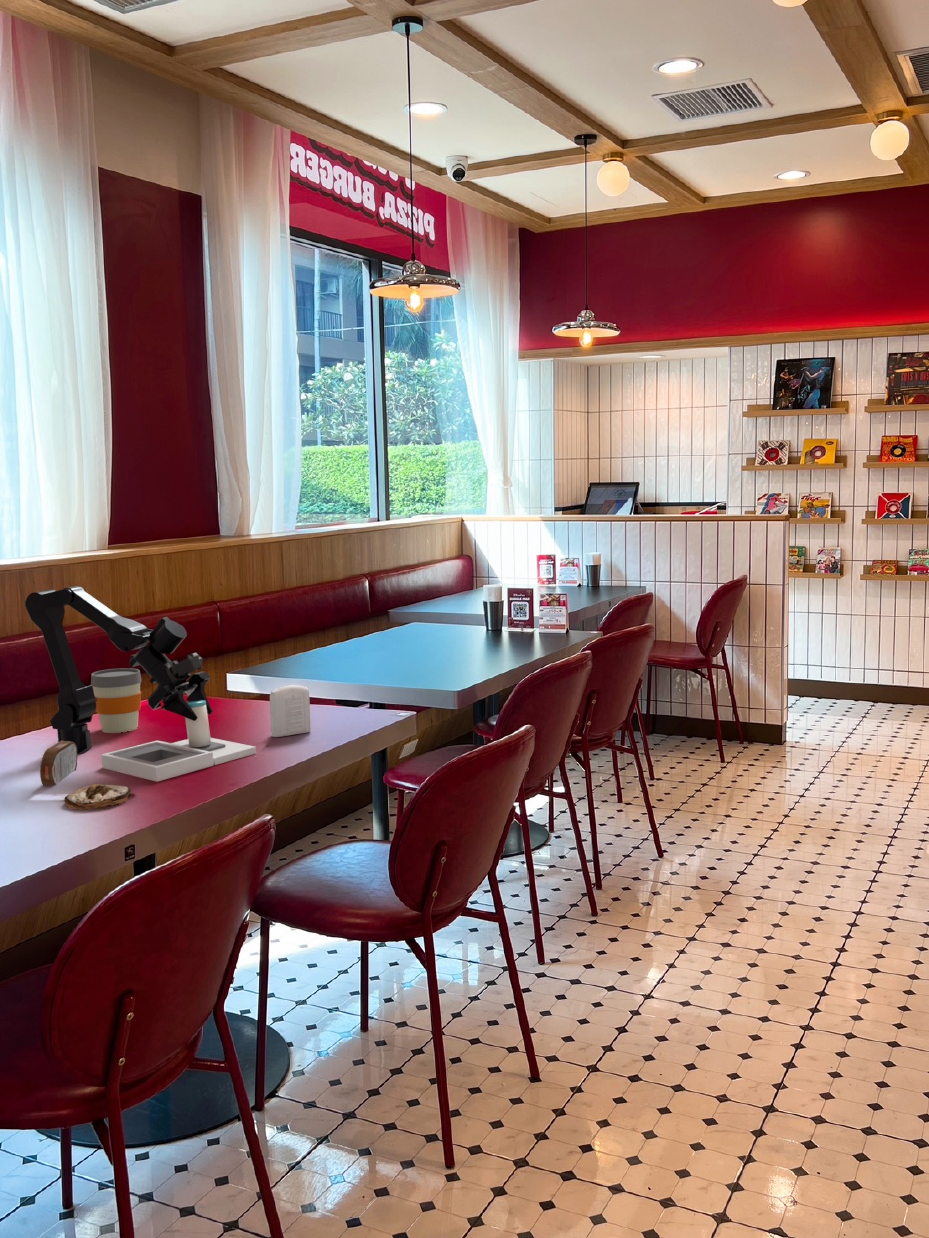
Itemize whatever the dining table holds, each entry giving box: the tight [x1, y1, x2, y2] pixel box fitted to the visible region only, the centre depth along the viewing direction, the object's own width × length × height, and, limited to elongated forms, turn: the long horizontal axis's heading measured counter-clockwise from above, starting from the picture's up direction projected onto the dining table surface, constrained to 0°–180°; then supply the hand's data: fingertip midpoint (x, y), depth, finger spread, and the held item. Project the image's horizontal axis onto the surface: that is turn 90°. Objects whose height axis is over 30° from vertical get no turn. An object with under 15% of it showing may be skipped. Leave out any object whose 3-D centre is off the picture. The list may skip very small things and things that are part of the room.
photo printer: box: [269, 684, 312, 738], centre depth 277 cm, size 10×4×12 cm, turn 123°
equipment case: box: [100, 737, 257, 783], centre depth 251 cm, size 20×28×4 cm
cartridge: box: [184, 700, 212, 747], centre depth 255 cm, size 5×5×10 cm
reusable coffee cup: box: [90, 667, 143, 734], centre depth 287 cm, size 13×13×15 cm
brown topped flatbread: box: [64, 783, 131, 811], centre depth 225 cm, size 15×15×4 cm
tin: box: [39, 741, 78, 787], centre depth 239 cm, size 15×3×8 cm, turn 178°
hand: (203, 716), depth 254 cm, fingers open, 6 cm apart
